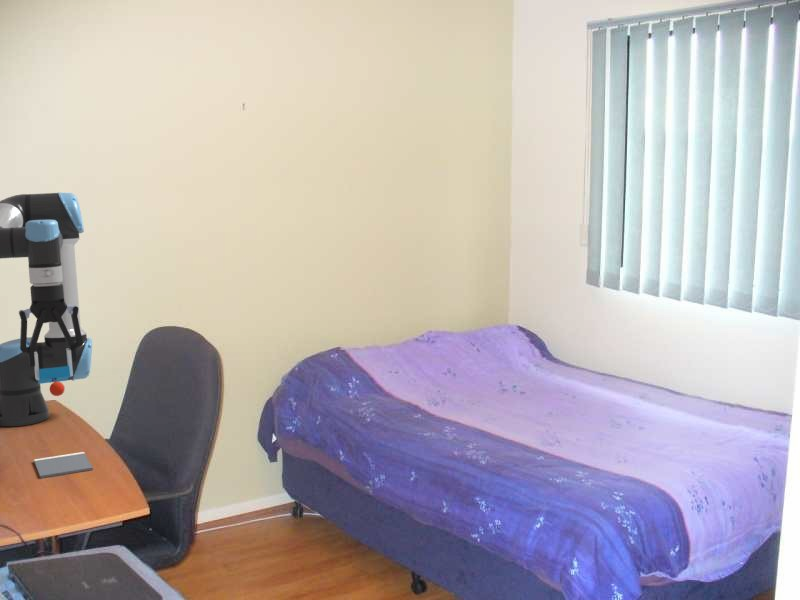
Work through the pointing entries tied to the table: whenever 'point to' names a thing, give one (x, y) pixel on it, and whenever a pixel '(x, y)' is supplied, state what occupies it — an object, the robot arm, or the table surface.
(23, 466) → the table surface
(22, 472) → the table surface
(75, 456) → the mat
